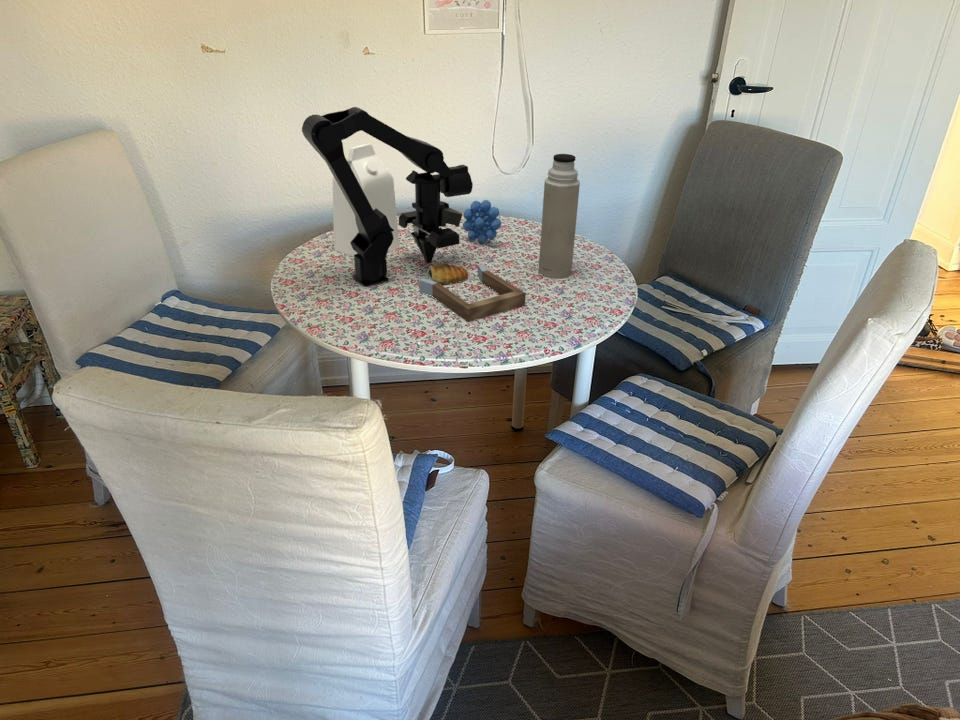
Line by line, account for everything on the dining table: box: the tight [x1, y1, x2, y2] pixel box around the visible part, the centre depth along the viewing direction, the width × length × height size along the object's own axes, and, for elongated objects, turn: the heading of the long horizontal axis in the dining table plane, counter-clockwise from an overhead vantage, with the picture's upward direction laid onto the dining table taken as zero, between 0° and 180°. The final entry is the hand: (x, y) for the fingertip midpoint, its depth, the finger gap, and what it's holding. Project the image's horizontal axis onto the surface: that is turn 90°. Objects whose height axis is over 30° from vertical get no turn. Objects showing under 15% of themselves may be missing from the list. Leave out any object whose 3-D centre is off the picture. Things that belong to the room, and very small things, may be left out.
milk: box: [332, 142, 400, 258], centre depth 178 cm, size 12×12×26 cm
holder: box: [418, 263, 527, 323], centre depth 160 cm, size 18×18×3 cm
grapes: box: [462, 199, 502, 245], centre depth 187 cm, size 12×7×12 cm, turn 56°
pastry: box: [427, 263, 469, 286], centre depth 169 cm, size 9×7×4 cm
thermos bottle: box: [538, 153, 581, 279], centre depth 167 cm, size 8×8×28 cm
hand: (428, 262), depth 174 cm, fingers closed
